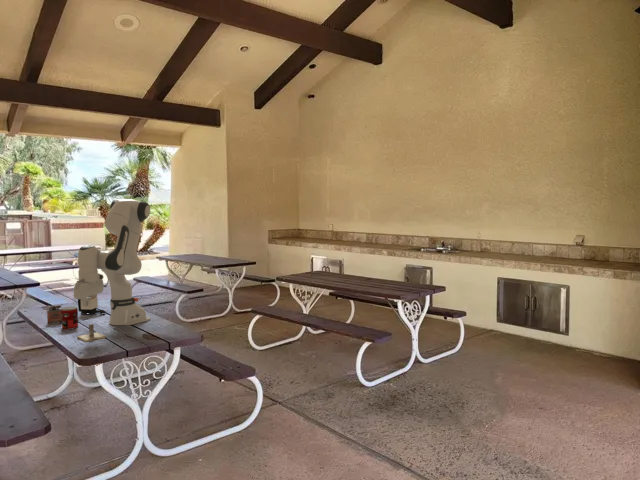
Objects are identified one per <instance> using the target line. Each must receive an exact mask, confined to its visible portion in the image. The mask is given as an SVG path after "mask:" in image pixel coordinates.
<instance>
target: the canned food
mask: <svg viewBox="0 0 640 480" xmlns="http://www.w3.org/2000/svg"><path fill="white" fill-rule="evenodd" d="M60 309H61V316H62V322H61V327H62V329H63V330H72V328H73V329H75V328H76V329H77V328H78V327H79V313H78V312H79V309H78V306H65V307H61V308H60Z"/></svg>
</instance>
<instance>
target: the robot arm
mask: <svg viewBox="0 0 640 480" xmlns="http://www.w3.org/2000/svg"><path fill="white" fill-rule="evenodd" d="M109 207H110V208H109V209H110V210H109V211H108V213H107V216H106V217H105V221H104V227H105V229H106V230H107V231H108V232H109V233H111V234H112V235H114V236H116V241H115V246H114V247H113V249H112V250H100V249H99V248H97V247H96V246H95V245H93V244H91V245H90V244H89V245H82V246H80V247H79V249H78V254H77V265H78V274H77V275H78V280H77V281H76V282H75V284H74V286H73V298H74V299H75V300H78V299H81V301H82V303H83V306H88V302H86V297H89V296H92V297H95V298H98V294H102V293H103V292H104V275H105V276H106V278H107V280H108V283H109V286H110V297H111V298H110V317H109V320H108V321H109V322H108V325H112V326H131V325H136V324H139V323H143V322H147V321H150V320H151V317H150V316H148V315H147V313H146V310H145V308H143V307H142V306H140V305H139V304H137V303H136V302H139V301H140V299H139V298H138V297H133V291H132V290H133V288H132V283H131V282H130V281H129V280H128V279H127V278H126V276H131V275H136V274H138V273H140V271H141V269H142V266H143V265H142V261H141V259H140V258H139V256H138V252H137V248H138V243H139V240H140V236H141V233H142V226H143V222H144V221H145V220H147V219H148V218H149V216H150V213H151V205H150V204H149V203H148V202H146V201H143V200H142V201H141V200H137V199H127V198H115V199H113V200H112V201H111V203H110V206H109ZM98 270H100V271H101V272H103V273H104V275H103V274H101V273H99V271H98Z"/></svg>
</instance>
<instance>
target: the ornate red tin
mask: <svg viewBox="0 0 640 480" xmlns="http://www.w3.org/2000/svg"><path fill="white" fill-rule="evenodd" d="M61 309H62V305H61V304H58V305H52V306H49V307H48V309H47V310H46V314H47V316H46V319H47V322H46V323H47V325H53V324H52V323H54V324H60V323H61V324H62V316H61Z"/></svg>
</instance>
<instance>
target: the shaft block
mask: <svg viewBox="0 0 640 480" xmlns="http://www.w3.org/2000/svg"><path fill="white" fill-rule="evenodd" d="M94 331H95V329H94V323H90V324H88V334H82V335H77V336H76V338H77V339H78V340H80V341H83V342H85V343H88V342H92V341H97V340H101V339H105V338H107V335H105V334H102V333H99V332H98V331H97V332H94Z"/></svg>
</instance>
